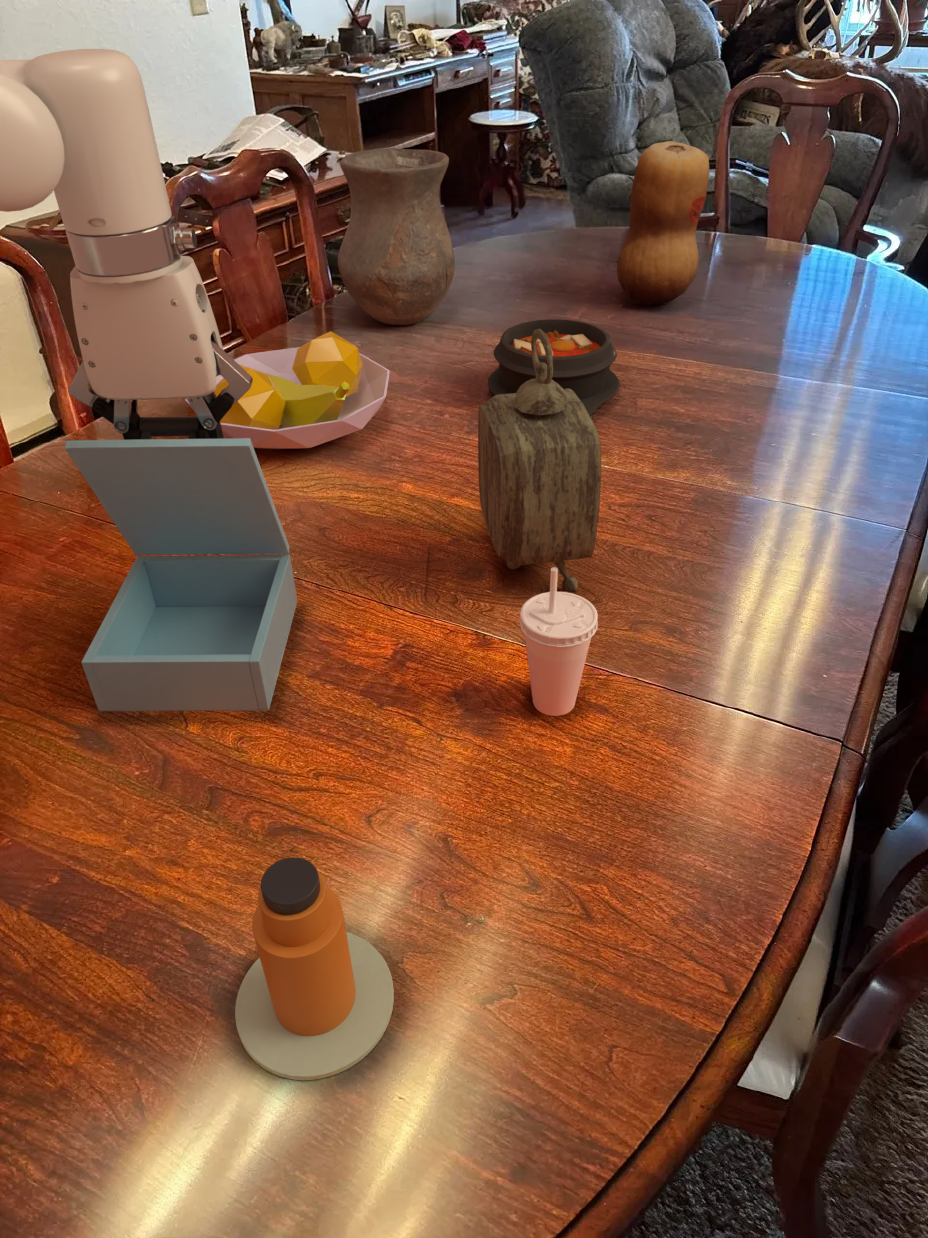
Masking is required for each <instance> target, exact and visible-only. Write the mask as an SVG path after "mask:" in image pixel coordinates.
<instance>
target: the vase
mask: <svg viewBox="0 0 928 1238" xmlns="http://www.w3.org/2000/svg"><path fill="white" fill-rule="evenodd" d="M449 163H450V158H449V156H448V155H447V154H446V153H445V152H440V151H437V150H430V149H411V148H409V149H406V148H399V147H398V148H394V147H380V148H373V149H365V150H358V151H354V152H351V153H348V154H346V155H345V156H343V157H342V159H341V160H340V161H339V165H340V169H341V171H342V173H343V175H344V178H345V180H346V182H347V186H348V188H349V193H350V201H351V203H350V204H351V209H350V217H349V221H348V225H347V228H346V231H345V234H344V236H343V239H342V243H341V245H340V248H339V251H338V255H337V267H338V272H339V274H340V278H341V281H342V283H343V285H344V287H345V289H346V291H347V292H348V294H349V295H350V297H351V298H352V299H353V301H355V303H356V304H357V306H359V307H360V309H362V310H363V311H364V312H365V313H366V314H367V315H369V316H370V317H371V318H373V319H374V320H375V321H377V322H380V323H382V324H385V325H390V326H409V325H414V324H417V323H419V322H421V321H424V320H425V319H427V318H428V317H429V316H430V315H431V314H432V313H434V312H435V310H437V308H438V307H439V305H440V304H441V302H442V301H443V300H444V299H445V297H446V296H447V294H448V293H449V290H450V287H451V285H452V282H453V279H454V275H455V269H456V268H455V267H456V261H455V259H456V258H455V251H454V246H453V241H452V238H451V234H450V231H449V228H448V224H447V222H446V219H445V215H444V211H443V208H442V203H441V199H440V190H441V184H442V182H443V179H444V177H445V174H446V172H447V170H448V167H449Z"/></svg>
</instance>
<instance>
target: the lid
mask: <svg viewBox="0 0 928 1238" xmlns="http://www.w3.org/2000/svg"><path fill="white" fill-rule="evenodd" d="M141 417H142V418H140V421H139V429H140V433H141V437H140V440H124V439H69V440H68V439H67V440H66V441H65V445H64V449H65V451H66V452H67V454H68V456H69V457H70V458H71V460H72V461H73V463H74V464H75V466H76V468H77V469H78V470H79V472H80V473H81V475H82V476H83V478H84V480H85V481H86V483H87V484H88V486H89V487H90V489H91V490H92V492H93V494H94V495H95V496H96V498H97V499H98V501H99V502H100V504H101V506H102V507H103V509H104V510H105V511H106V513H107V514H108V516H109V517H110V519H111V521H112V522H113V523H114V525H115V526H116V528H117V529H118V531H119V532H120V534H121V535H122V537H123V539H124V540H125V542H126V544H127V545H128V546H129V548H130V550H131V551H132V553H133V554H134V555H135V556H207V555H290V549H291V547H290V544H289V541H288V539H287V536H286V533H285V530H284V528H283V524H282V522H281V519H280V517H279V514H278V511H277V508H276V506H275V503H274V499H273V498H272V495H271V491H270V488H269V486H268V484H267V481H266V478H265V476H264V473H263V470H262V467H261V464H260V462H259V459H258V457H257V456H258V455H257V453H256V450H255V448H253V445H252V442H251V440H250V438H234V439H225V438H224V439H198V430H199V428H200V421H199V419H198V417H197V416H141ZM153 437H154V439H153ZM155 437H156V438H157V437H165V438H159V439H158V438H157V439H155ZM166 437H188V438H166Z"/></svg>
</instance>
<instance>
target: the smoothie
mask: <svg viewBox="0 0 928 1238" xmlns="http://www.w3.org/2000/svg"><path fill="white" fill-rule="evenodd" d="M558 574H559V569H558V567H557V566H555V567H551V568H550V577H549V579H550V580H549V591H547V592H542V593H539V594H535V595H534V596H532V597H530V598H528V599H527V600H526V601H524V603H523V604H522V606H521V609H520V613H519V621H518V623H519V627H520V630H521V631H522V632H523V634H524V642H525V649H526V658H527V666H528V675H529V682H530V690H531V698H532V704H533V706H534V708H535V709H536V711H538V712H540V713H541V714H544V715H546V716H550V717H552V716H553V717H560V716H564V715H566V714H568V713H570V712H572V710H573V709H574V708H575V705H576V702H577V697H578V693H579V690H580V685H581V681H582V677H583V673H584V668H585V665H586V660H587V656H588V653H589V648H590V646H591V640H592V637H594V636H595V635H596V632H597V630H598V628H599V621H598V620H599V614H598V611H597V609H596V607H595V605H594V604H593V603H592V602H590V601H589V600H588V599H586V598H585V597H583V596H581V595H579V594H575V593H573V592H566V591H558Z"/></svg>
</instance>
